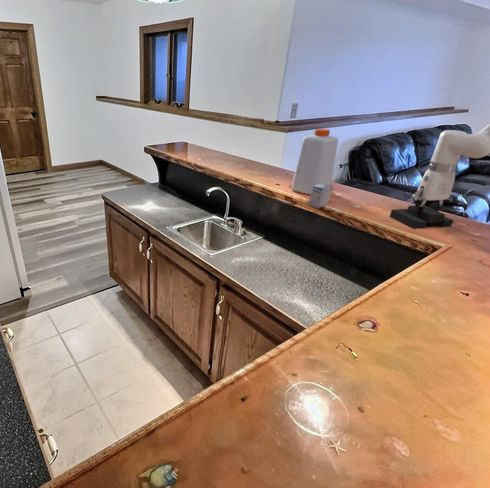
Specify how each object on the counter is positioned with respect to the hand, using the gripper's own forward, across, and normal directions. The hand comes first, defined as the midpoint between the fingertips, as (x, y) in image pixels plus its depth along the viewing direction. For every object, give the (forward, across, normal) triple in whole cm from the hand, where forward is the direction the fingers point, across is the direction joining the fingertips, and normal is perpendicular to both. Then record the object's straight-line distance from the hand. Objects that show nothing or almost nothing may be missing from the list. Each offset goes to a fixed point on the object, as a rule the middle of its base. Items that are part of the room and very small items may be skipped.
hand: (424, 214), depth 130 cm
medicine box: (+4, -28, +24) cm, 37 cm away
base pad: (+3, 0, +1) cm, 4 cm away
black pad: (+1, 0, 0) cm, 1 cm away
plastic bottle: (+4, -21, +43) cm, 48 cm away
